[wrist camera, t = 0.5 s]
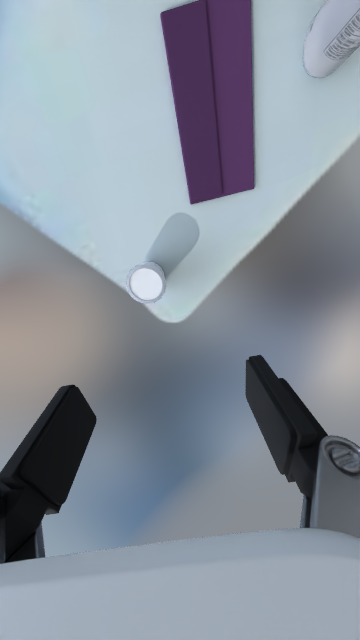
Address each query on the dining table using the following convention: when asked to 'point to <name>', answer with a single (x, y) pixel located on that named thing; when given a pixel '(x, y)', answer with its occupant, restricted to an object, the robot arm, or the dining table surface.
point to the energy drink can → (332, 37)
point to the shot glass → (146, 282)
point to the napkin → (212, 94)
